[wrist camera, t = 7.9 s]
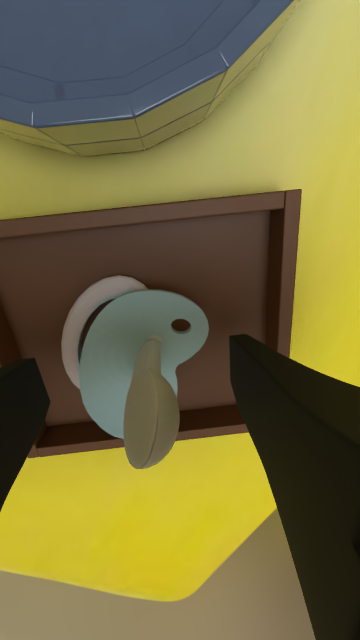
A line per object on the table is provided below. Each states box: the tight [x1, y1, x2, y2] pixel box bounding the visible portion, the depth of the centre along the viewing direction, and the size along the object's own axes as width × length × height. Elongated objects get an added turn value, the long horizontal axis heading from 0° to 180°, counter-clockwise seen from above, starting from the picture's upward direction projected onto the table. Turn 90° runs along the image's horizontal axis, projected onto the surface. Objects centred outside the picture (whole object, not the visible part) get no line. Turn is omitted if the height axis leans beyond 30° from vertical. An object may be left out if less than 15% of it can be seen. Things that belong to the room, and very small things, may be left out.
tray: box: [0, 189, 302, 458], centre depth 13 cm, size 13×11×2 cm
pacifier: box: [61, 275, 209, 469], centre depth 10 cm, size 7×6×6 cm
